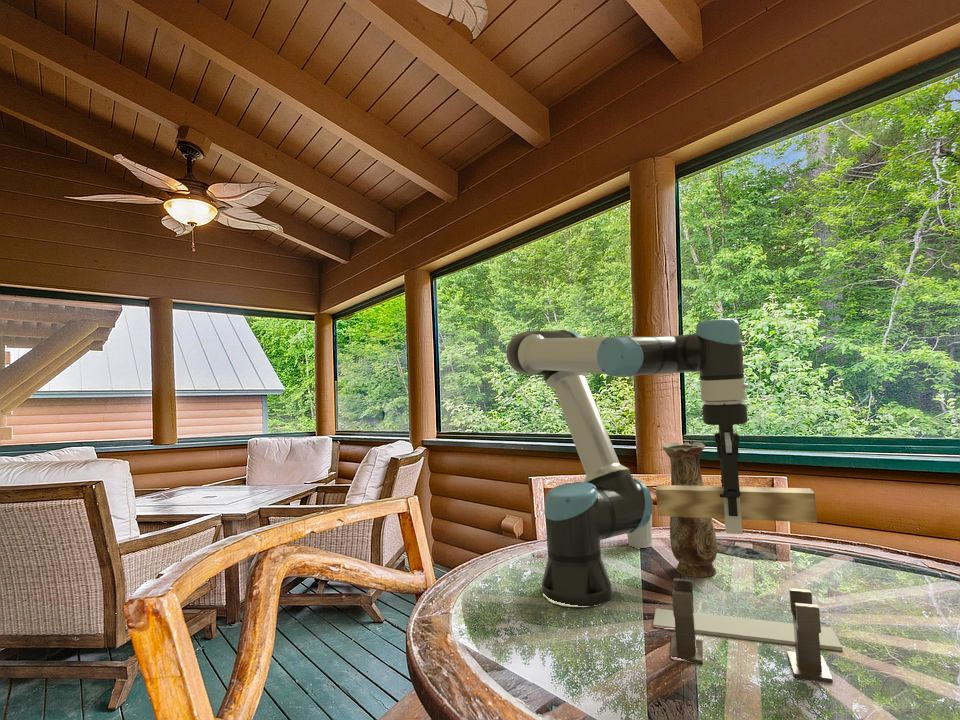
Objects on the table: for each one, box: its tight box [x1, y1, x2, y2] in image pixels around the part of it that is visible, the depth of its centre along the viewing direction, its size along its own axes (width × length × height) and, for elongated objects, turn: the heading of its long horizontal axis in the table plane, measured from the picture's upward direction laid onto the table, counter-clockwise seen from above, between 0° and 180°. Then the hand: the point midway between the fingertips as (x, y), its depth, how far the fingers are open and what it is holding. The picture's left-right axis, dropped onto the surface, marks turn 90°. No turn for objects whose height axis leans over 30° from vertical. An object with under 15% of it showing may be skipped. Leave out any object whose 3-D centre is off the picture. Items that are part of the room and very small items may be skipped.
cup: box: [626, 513, 653, 549], centre depth 145 cm, size 8×8×12 cm
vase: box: [661, 441, 718, 578], centre depth 125 cm, size 10×11×30 cm
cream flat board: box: [652, 608, 843, 652], centre depth 96 cm, size 30×7×1 cm, turn 67°
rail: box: [655, 484, 818, 524], centre depth 97 cm, size 26×4×5 cm, turn 67°
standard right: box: [786, 587, 834, 684], centre depth 83 cm, size 5×7×11 cm
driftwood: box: [717, 542, 779, 563], centre depth 136 cm, size 21×7×2 cm, turn 40°
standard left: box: [669, 577, 704, 665], centre depth 90 cm, size 5×7×11 cm
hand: (733, 529), depth 96 cm, fingers closed on rail, 4 cm apart
